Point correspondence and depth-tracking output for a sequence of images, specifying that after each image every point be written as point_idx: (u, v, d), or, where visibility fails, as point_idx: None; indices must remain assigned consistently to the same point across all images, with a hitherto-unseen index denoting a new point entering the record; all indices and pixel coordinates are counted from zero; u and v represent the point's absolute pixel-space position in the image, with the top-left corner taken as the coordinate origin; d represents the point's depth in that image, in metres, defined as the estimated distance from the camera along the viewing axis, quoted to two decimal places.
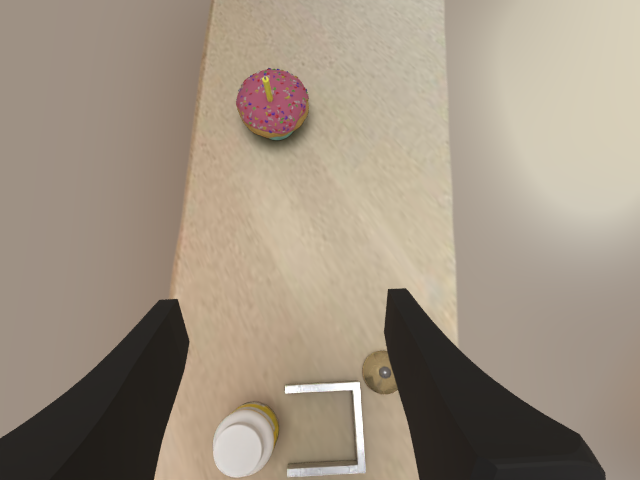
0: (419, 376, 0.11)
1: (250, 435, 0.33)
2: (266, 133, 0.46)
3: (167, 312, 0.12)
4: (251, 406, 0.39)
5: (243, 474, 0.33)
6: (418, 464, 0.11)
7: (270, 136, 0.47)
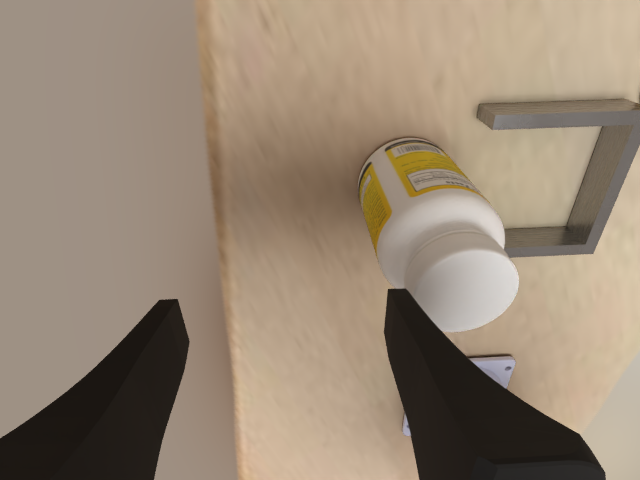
0: (419, 376, 0.11)
1: (500, 269, 0.14)
2: None
3: (167, 312, 0.12)
4: (439, 166, 0.18)
5: (470, 328, 0.16)
6: (418, 464, 0.11)
7: None
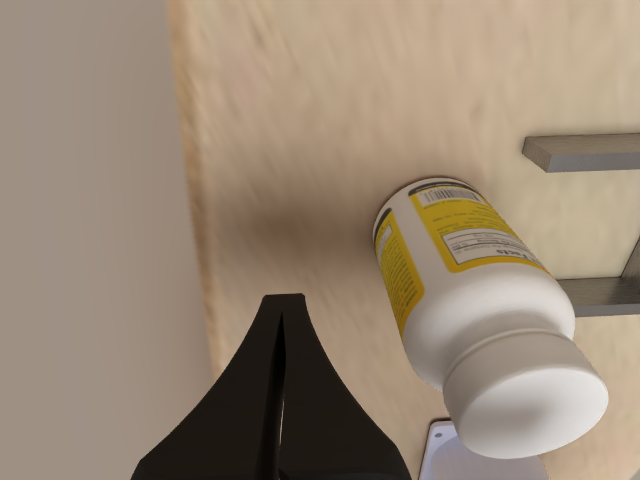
0: None
1: (585, 390, 0.10)
2: None
3: (281, 307, 0.13)
4: (483, 224, 0.14)
5: (533, 454, 0.12)
6: None
7: None
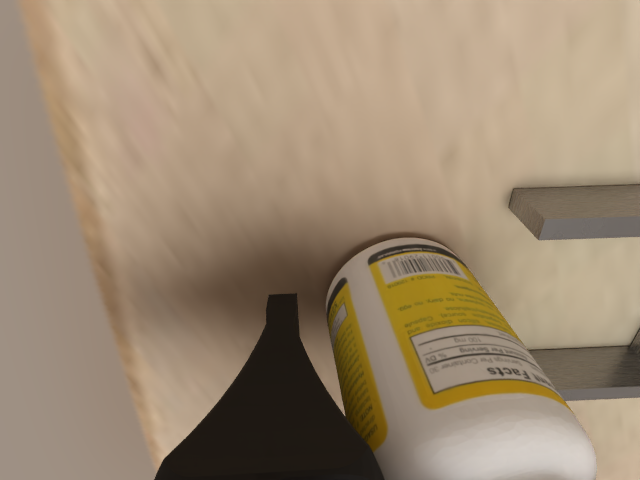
0: None
1: None
2: None
3: (295, 306, 0.13)
4: (466, 318, 0.10)
5: None
6: None
7: None
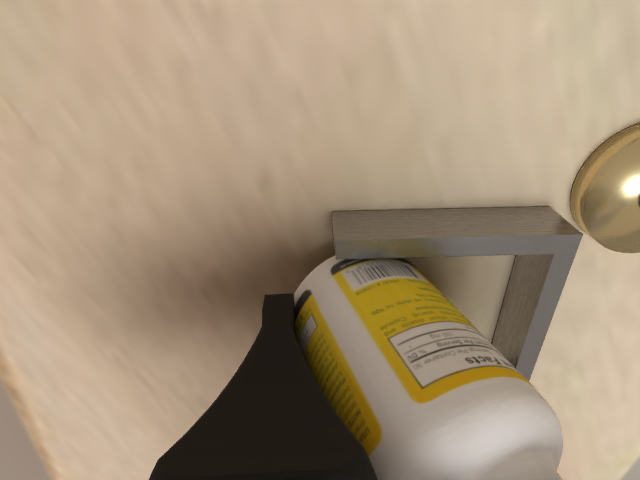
0: None
1: None
2: None
3: (291, 306, 0.13)
4: (435, 316, 0.11)
5: None
6: None
7: None
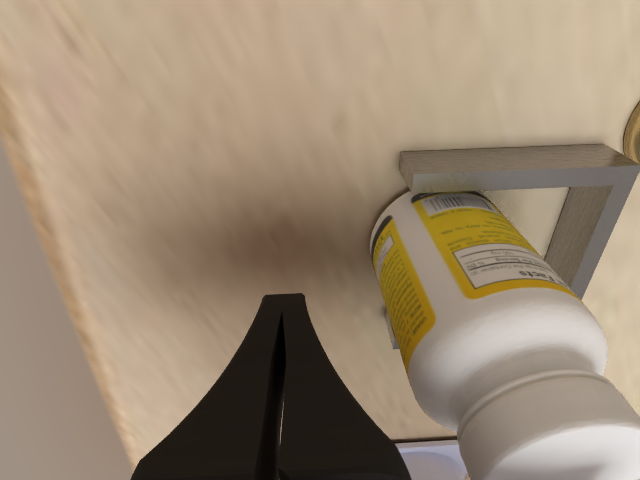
0: None
1: (633, 447, 0.08)
2: None
3: (281, 307, 0.13)
4: (500, 239, 0.12)
5: None
6: None
7: None
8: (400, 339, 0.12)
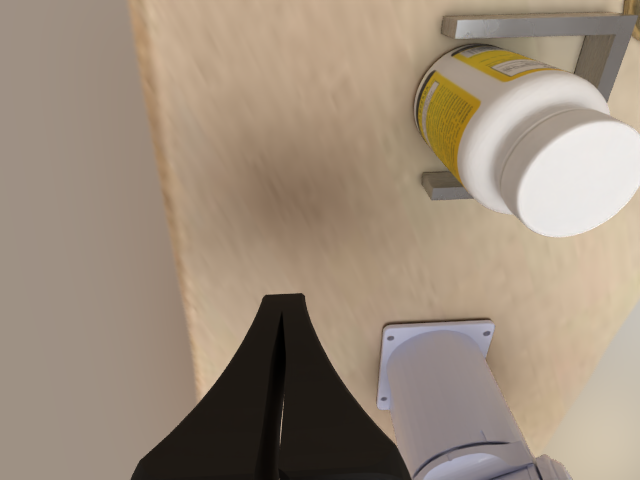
0: None
1: (629, 149, 0.12)
2: None
3: (281, 307, 0.13)
4: (527, 58, 0.16)
5: (577, 232, 0.13)
6: None
7: None
8: (449, 139, 0.16)
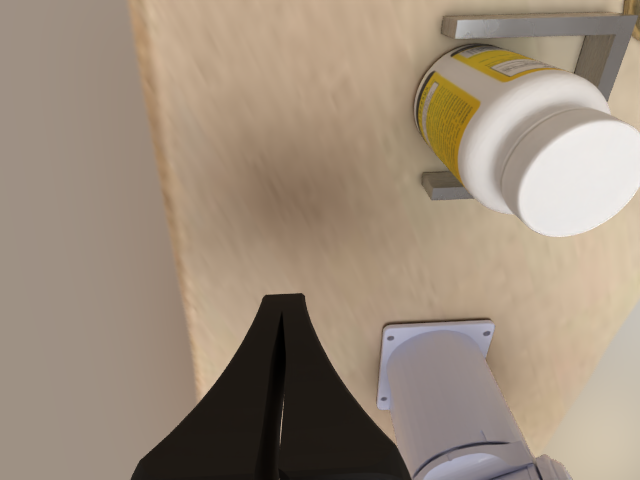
0: None
1: (630, 148, 0.12)
2: None
3: (281, 307, 0.13)
4: (526, 58, 0.16)
5: (579, 231, 0.13)
6: None
7: None
8: (449, 140, 0.16)
